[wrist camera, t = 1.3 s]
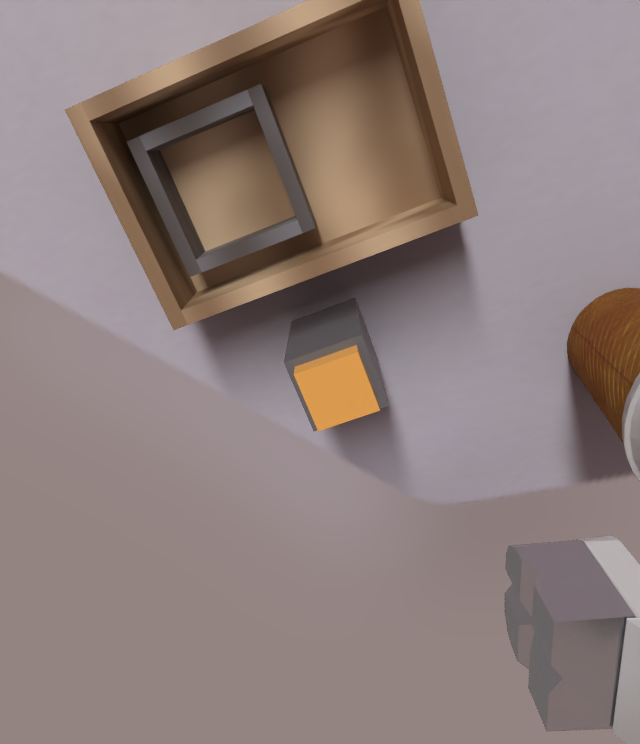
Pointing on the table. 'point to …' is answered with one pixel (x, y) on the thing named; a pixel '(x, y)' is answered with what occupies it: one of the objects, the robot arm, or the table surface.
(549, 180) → the table surface
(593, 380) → the disposable coffee cup
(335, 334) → the block
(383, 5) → the box
